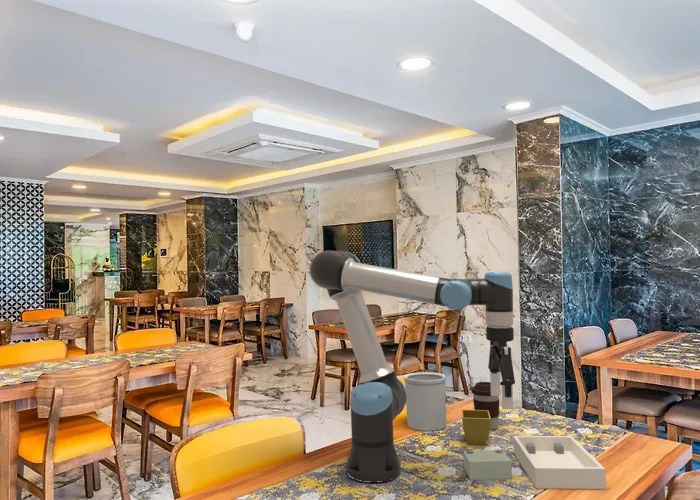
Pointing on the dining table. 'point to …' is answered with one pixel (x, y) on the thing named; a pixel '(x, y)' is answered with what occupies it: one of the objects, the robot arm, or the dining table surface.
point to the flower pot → (476, 426)
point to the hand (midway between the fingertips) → (501, 401)
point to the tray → (558, 463)
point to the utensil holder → (426, 401)
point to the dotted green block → (487, 465)
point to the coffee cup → (486, 401)
